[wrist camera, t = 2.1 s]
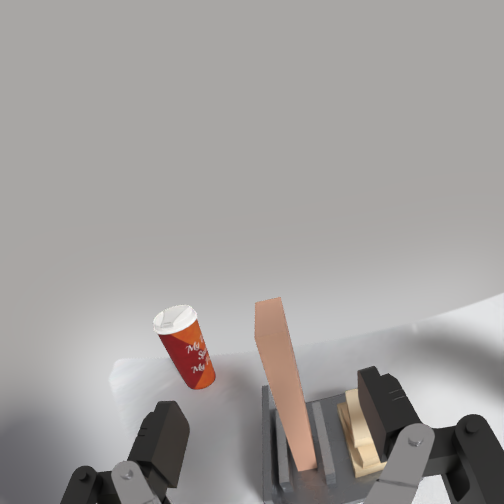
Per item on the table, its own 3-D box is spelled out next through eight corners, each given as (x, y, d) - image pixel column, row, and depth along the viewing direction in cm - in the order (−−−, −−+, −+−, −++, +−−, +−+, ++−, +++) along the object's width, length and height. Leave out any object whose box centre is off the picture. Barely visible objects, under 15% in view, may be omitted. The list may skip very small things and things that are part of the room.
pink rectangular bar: (294, 437, 30) (255, 302, 24) (311, 433, 30) (280, 296, 24) (298, 471, 24) (254, 338, 19) (317, 467, 24) (286, 331, 19)
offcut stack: (337, 411, 32) (334, 387, 31) (380, 398, 31) (381, 374, 30) (355, 478, 21) (355, 459, 20) (407, 460, 21) (413, 439, 19)
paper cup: (218, 391, 43) (188, 323, 40) (177, 394, 44) (143, 329, 41) (224, 363, 51) (199, 299, 47) (187, 368, 52) (159, 306, 48)
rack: (272, 414, 36) (262, 386, 34) (380, 387, 34) (381, 356, 33) (276, 518, 19) (263, 501, 18) (422, 480, 18) (434, 455, 16)
